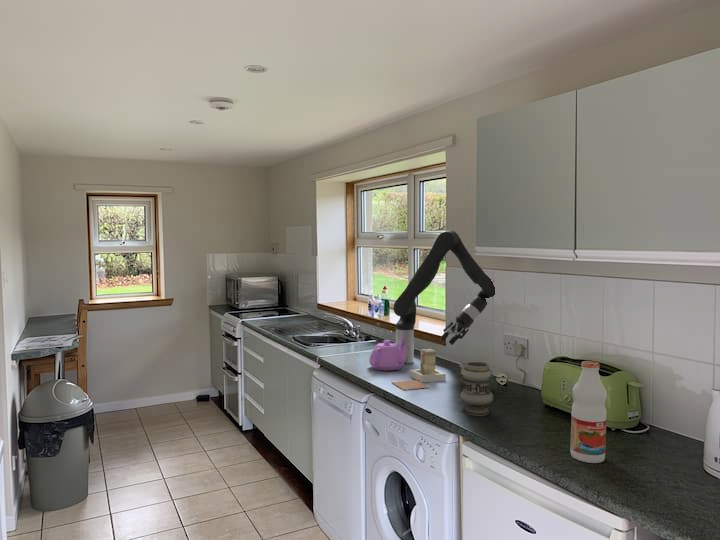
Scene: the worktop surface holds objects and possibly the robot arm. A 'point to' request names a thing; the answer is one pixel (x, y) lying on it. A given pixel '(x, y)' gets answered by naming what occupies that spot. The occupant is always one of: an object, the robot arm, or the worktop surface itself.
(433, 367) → the beech block
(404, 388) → the mat
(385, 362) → the teapot
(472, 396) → the apothecary jar
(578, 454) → the fruit juice
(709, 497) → the worktop surface
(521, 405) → the worktop surface
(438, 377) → the collar frame
